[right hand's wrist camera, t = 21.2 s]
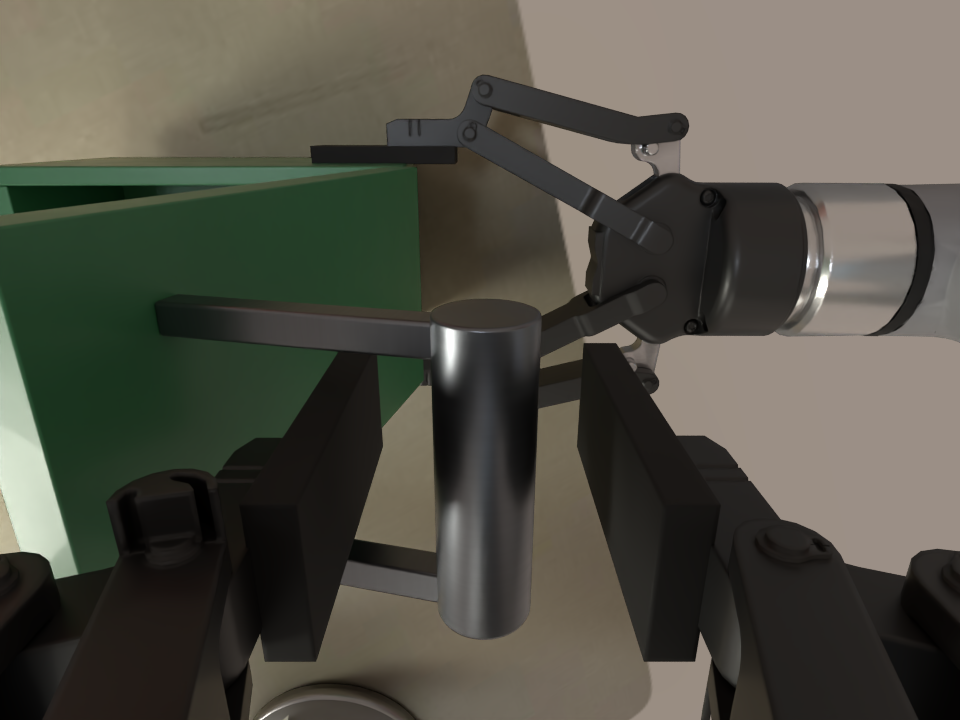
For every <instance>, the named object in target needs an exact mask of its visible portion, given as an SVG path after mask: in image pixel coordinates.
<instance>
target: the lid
mask: <svg viewBox="0 0 960 720" xmlns="http://www.w3.org/2000/svg"><path fill="white" fill-rule="evenodd" d="M541 323H542V317H541V314H540V312H539V311H538V310H537V309H536V308H534V307H532V306H529V305H526V304H523V303H520V302H515V301H509V300H500V299H470V300H461V301H455V302H450V303H447V304H444V305H441V306H439V307H437V308H435V309H434V310H433V311H432V312H422V309H421V278H420V248H419V217H418V186H417V167H383V168H375V169H367V170H359V171H351V172H343V173H335V174H327V175H319V176H311V177H303V178H295V179H287V180H279V181H271V182H263V183H255V184H247V185H239V186H231V187H223V188H215V189H207V190H199V191H191V192H183V193H175V194H167V195H159V196H151V197H143V198H135V199H127V200H119V201H111V202H103V203H95V204H87V205H79V206H71V207H63V208H55V209H47V210H39V211H31V212H23V213H16V214H8V215H0V489H1V492H2V495H3V499H4V502H5V505H6V508H7V511H8V514H9V517H10V520H11V524H12V527H13V530H14V533H15V536H16V539H17V542H18V545H19V548H20V552H30V553H37V554H41V555H42V556H43V557H45V558H46V559H47V560H49V562H50V565H51V568H52V572H53V575H54V578H55V579H58V578H63V577H68V576H73V575H78V574H82V573H87V572H92V571H97V570H102V569H106V568H110V567H113V566H115V564H116V562H117V560H118V558H119V552H118V548H117V544H116V540H115V537H114V533H113V529H112V525H111V521H110V517H109V513H108V509H107V505H106V501H107V500H108V499H109V498H110V497H111V496H112V495H113V494H114V492H115V491H117V490H118V489H120V488H121V487H123V486H125V485H126V484H128V483H130V482H131V481H133V480H136V479H139V478H141V477H144V476H147V475H149V474H152V473H156V472H161V471H166V470H171V469H191V468H193V469H198V470H202V471H207V472H209V473H210V474H211V475H213V476H214V477H215V476H216V474H217V473H218V472H219V471H220V470H222V467H223V465H224V464H225V463H226V462H227V460H228V459H229V458H230V456H231V455H232V454H233V452H234V451H236V450H237V449H239V448H240V447H242V446H243V445H245V444H247V443H248V442H250V441H251V440H253V439H255V438H283V436H284V435H285V433H286V432H287V430H288V429H289V427H290V426H291V424H292V423H293V421H294V419H295V418H296V416H297V415H298V413H299V412H300V410H301V409H302V407H303V406H304V404H305V403H306V401H307V399H308V398H309V396H310V395H311V393H312V392H313V390H314V389H315V387H316V386H317V384H318V382H319V381H320V379H321V378H322V376H323V375H324V373H325V372H326V370H327V369H328V367H329V366H330V364H331V362H332V361H333V359H334V358H335V356H336V355H337V353H338V352H347V353H358V354H369V355H377V362H378V378H379V393H380V409H381V424H382V427H383V426H384V425H385V424H386V423H387V421H388V420H389V419H390V418H391V417H392V416H393V415H394V414H395V412H396V411H397V410H398V409H399V408H400V407H401V406H402V404H403V403H404V402H405V401H406V400H407V399H408V398H409V396H410V395H411V394H412V393H413V392H414V391H415V390H416V388H417V387H418V386H419V385H420V384H421V383H422V382H423V381H424V370H423V359H424V360H431V378H432V413H433V449H434V485H435V521H436V553H435V552H429V551H423V550H417V549H411V548H405V547H399V546H393V545H386V544H380V543H374V542H368V541H362V540H356V539H354V541H353V544H352V547H351V551H350V554H349V557H348V560H347V563H346V567H345V570H344V573H343V576H342V580H341V583H340V584H341V585H346V586H352V587H357V588H363V589H368V590H373V591H379V592H384V593H390V594H395V595H401V596H406V597H411V598H417V599H422V600H428V601H433V602H438V610H439V614H440V616H441V618H442V619H443V621H444V622H445V624H446V625H447V626H448V627H449V628H450V629H452V630H453V631H455V632H456V633H458V634H460V635H462V636H465V637H468V638H472V639H480V640H488V639H496V638H500V637H504V636H506V635H509V634H511V633H512V632H514V631H515V630H517V629H518V628H519V627H520V626H521V625H522V624H523V623H524V621H525V620H526V618H527V616H528V614H529V611H530V600H531V575H532V550H533V524H534V499H535V474H536V449H537V424H538V399H539V374H540V349H541Z"/></svg>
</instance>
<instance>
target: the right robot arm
mask: <svg viewBox="0 0 960 720" xmlns="http://www.w3.org/2000/svg"><path fill="white" fill-rule="evenodd" d="M382 448H383V440H382V424H381V409H380V393H379V378H378V362H377V355H369V354H358V353H347V352H338V353H337V355H336V356H335V358H334V359H333V361H332V362H331V364H330V366H329V367H328V369H327V370H326V372H325V373H324V375H323V376H322V378H321V379H320V381H319V382H318V384H317V386H316V387H315V389H314V390H313V392H312V393H311V395H310V396H309V398H308V399H307V401H306V403H305V404H304V406H303V407H302V409H301V410H300V412H299V413H298V415H297V416H296V418H295V419H294V421H293V423H292V424H291V426H290V427H289V429H288V430H287V432H286V433H285V435H284V436H283V438H255V439H253V440H251V441H250V442H248V443H247V444H245V445H243V446H242V447H240V448H239V449H237V450H236V451H234V452H233V454H232V455H231V456H230V458H229V459H228V460H227V462H226V463H225V464H224V465H223V467H222V470H220V471H219V472H218V473H217V474H216V476H215V477H214V476H213V475H211V474H210V473H209V472H207V471H202V470H198V469H193V468H191V469H171V470H166V471H161V472H156V473H152V474H149V475H147V476H144V477H141V478H139V479H136V480H133V481H131V482H130V483H128V484H126V485H125V486H123V487H121V488H120V489H118V490H117V491H115V492H114V494H113V495H112V496H111V497H110V498H109V499H108V500H107V501H106V505H107V509H108V513H109V517H110V521H111V525H112V529H113V533H114V537H115V540H116V544H117V548H118V552H119V558H118V560H117V562H116V564H115V566H113V567H110V568H106V569H102V570H97V571H92V572H87V573H82V574H78V575H73V576H68V577H63V578H58V579H55V578H54V575H53V572H52V568H51V565H50V562H49V560H47V559H46V558H45V557H43V556H42V555H41V554H37V553H30V552H16V553H7V554H0V720H249V711H250V703H251V694H252V686H253V684H252V677H251V671H250V665H249V657H250V655H251V653H252V651H253V648H254V646H255V644H256V642H257V639H258V637H259V635H261V641H262V647H263V653H264V659H265V662H316V660H317V657H318V654H319V650H320V647H321V644H322V641H323V638H324V634H325V631H326V628H327V625H328V621H329V618H330V615H331V612H332V609H333V605H334V602H335V599H336V596H337V592H338V589H339V586H340V583H341V580H342V576H343V573H344V570H345V567H346V563H347V560H348V557H349V554H350V551H351V547H352V544H353V541H354V538H355V535H356V531H357V528H358V525H359V522H360V518H361V515H362V512H363V509H364V506H365V502H366V499H367V496H368V493H369V489H370V486H371V483H372V480H373V477H374V473H375V470H376V467H377V464H378V460H379V457H380V454H381V451H382ZM577 448H578V451H579V454H580V457H581V460H582V464H583V467H584V470H585V473H586V477H587V480H588V483H589V486H590V489H591V493H592V496H593V499H594V502H595V506H596V509H597V512H598V515H599V518H600V522H601V525H602V528H603V531H604V535H605V538H606V541H607V544H608V547H609V551H610V554H611V557H612V560H613V563H614V567H615V570H616V573H617V576H618V580H619V583H620V586H621V589H622V592H623V596H624V599H625V602H626V605H627V609H628V612H629V615H630V618H631V621H632V625H633V628H634V631H635V634H636V638H637V641H638V644H639V647H640V650H641V654H642V657H643V660H644V662H695V659H696V653H697V647H698V641H699V635H700V632H701V634H702V636H703V638H704V641H705V643H706V645H707V647H708V650H709V652H710V654H711V657H712V659H711V665H710V671H709V676H708V682H707V688H706V693H705V699H704V705H703V710H702V717H701V720H710V716H711V718H712V720H960V551H951V550H943V549H933V550H926V551H920V552H919V553H918V554H917V555H915V556H914V557H913V558H912V559H911V562H910V565H909V568H908V572H907V575H906V576H901V575H896V574H891V573H886V572H881V571H876V570H871V569H866V568H861V567H857V566H853V565H849V564H846V563H844V561H843V559H842V557H841V555H840V553H839V552H838V551H837V550H836V548H835V547H834V546H833V544H832V543H831V542H829V541H828V540H827V539H825V538H824V537H822V536H821V535H820V534H818V533H817V532H815V531H813V530H811V529H808V528H806V527H804V526H801V525H799V524H797V523H793V522H789V521H785V520H781V519H780V518H779V517H778V515H777V514H776V513H775V512H774V510H773V509H772V508H771V507H770V505H769V504H768V503H767V501H766V500H765V499H764V497H763V496H762V495H761V494H760V492H759V491H758V490H757V489H756V487H755V486H754V485H753V483H752V482H751V481H748V477H747V476H746V474H745V473H744V472H743V471H742V469H741V468H738V464H737V463H736V462H735V460H734V459H733V458H732V457H731V455H730V454H729V453H728V451H727V450H726V449H725V448H723V447H722V446H720V445H718V444H717V443H715V442H714V441H712V440H710V439H709V438H707V437H706V436H676V435H675V433H674V432H673V430H672V429H671V427H670V426H669V424H668V423H667V421H666V419H665V418H664V416H663V415H662V413H661V412H660V410H659V409H658V407H657V406H656V404H655V403H654V401H653V399H652V398H651V396H650V395H649V393H648V392H647V390H646V389H645V387H644V386H643V384H642V382H641V381H640V379H639V378H638V376H637V375H636V373H635V372H634V370H633V369H632V367H631V366H630V364H629V362H628V361H627V359H626V358H625V356H624V355H623V353H622V352H621V350H620V349H619V347H618V346H617V344H616V343H584V346H583V362H582V377H581V393H580V409H579V424H578V440H577Z"/></svg>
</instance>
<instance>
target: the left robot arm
mask: <svg viewBox="0 0 960 720" xmlns="http://www.w3.org/2000/svg"><path fill="white" fill-rule="evenodd" d="M492 109H493V110H496V111H500V112H503V113H507V114H511V115H514V116H518V117H522V118H525V119H529V120H533V121H536V122H540V123H544V124H547V125H551V126H554V127H558V128H562V129H566V130H569V131H573V132H576V133H580V134H584V135H587V136H591V137H595V138H598V139H602V140H605V141H609V142H615V143H621V144H631V151H632V154H633V156H634V157H635V158H636V159H637V160H640V161H645V162H647V163H649V164H650V165H651V166H652V168H653V171H654V175H652V176H651V177H649V178H648V179H647V180H645V181H644V182H642V183H641V184H640V185H638V186H637V187H635V188H634V189H632V190H631V191H630V192H628V193H627V194H625V195H624V196H622V197H621V198H620V199H618V200H617V201H616V200H614V199H613V198H611V197H609V196H607V195H606V194H604V193H602V192H600V191H598V190H597V189H595V188H593V187H591V186H590V185H588V184H586V183H584V182H582V181H581V180H579V179H577V178H575V177H574V176H572V175H570V174H568V173H567V172H565V171H563V170H561V169H560V168H558V167H556V166H554V165H553V164H551V163H549V162H547V161H546V160H544V159H542V158H540V157H539V156H537V155H535V154H533V153H532V152H530V151H528V150H526V149H525V148H523V147H521V146H519V145H518V144H516V143H514V142H512V141H511V140H509V139H507V138H505V137H504V136H502V135H500V134H498V133H497V132H495V131H493V130H491V129H489V128H488V127H486V126H487V124H488V121H489V118H490V115H491V112H492ZM386 128H387V145H320V146H310V148H311V159H312V163H405V164H456V163H457V147H466V148H468V149H470V150H471V151H473V152H475V153H477V154H479V155H480V156H482V157H484V158H486V159H488V160H489V161H491V162H493V163H495V164H496V165H498V166H500V167H502V168H504V169H505V170H507V171H509V172H511V173H513V174H514V175H516V176H518V177H520V178H521V179H523V180H525V181H527V182H529V183H530V184H532V185H534V186H536V187H538V188H539V189H541V190H543V191H545V192H546V193H548V194H550V195H552V196H554V197H555V198H557V199H559V200H561V201H563V202H564V203H566V204H568V205H570V206H572V207H573V208H575V209H577V210H579V211H580V212H582V213H584V214H585V215H587V216H589V217H590V218H592V219H594V222H593V224H592V226H589V234H588V243H589V248H590V253H591V259H590V262H589V265H588V268H587V271H586V281H585V286H586V288H587V289H588V291H586V292H583V293H581V294H579V295H577V296H576V297H574V298H572V299H571V300H570V301H569V302H568V303H567V304H565V305H563V306H561V307H559V308H557V309H555V310H553V311H551V312H549V313H547V314H545V315H543V316H541V317H542V323H541V349H540V357H542V356H544V355H546V354H548V353H551V352H553V351H555V350H557V349H559V348H561V347H563V346H565V345H567V344H569V343H571V342H573V341H575V340H577V339H579V338H582V337H585V336H593V335H596V334H598V333H600V332H602V331H604V330H606V329H608V328H610V327H612V326H615V325H617V324H620V325H622V326H623V327H624V328H626V329H627V330H628V331H630V332H631V333H632V334H634V335H635V336H636V337H637V340H636V341H635V342H634V343H633V344H632V345H630V346H625V347H621V348H619V349H620V350H621V352H622V353H623V355H624V356H625V358H626V359H627V361H628V362H629V364H630V366H631V367H632V369H633V370H634V372H635V373H636V375H637V376H638V378H639V379H640V381H641V382H642V384H643V386H644V387H645V389H646V390H647V392H648V393H649V394H652V393H654V392H655V391H656V390H657V389H658V387H659V380H658V378H657V376H656V375H655V373H654V370H655V365H656V361H657V356H658V352H659V348H660V344H662V343H665V342H667V341H669V340H671V339H673V338H675V337H678V336H682V335H699V336H765V335H769V334H771V333H773V332H774V331H775V332H776V333H778V334H779V335H783V336H844V335H863V336H929V337H940V338H946V339H951V340H954V341H957V342H959V343H960V184H924V185H897V184H884V183H795V184H793V185H791V186H789V187H787V188H786V187H785V186H783V185H782V184H779V183H701V182H694V181H692V180H690V179H688V178H687V177H685V176H684V175H682V174H680V140H681V139H682V138H683V137H685V135H686V134H687V132H688V129H689V123H688V119H687V118H686V116H684V115H683V114H681V113H669V114H660V115H650V116H641V117H637V116H633V115H629V114H626V113H622V112H619V111H615V110H611V109H608V108H604V107H601V106H597V105H593V104H590V103H586V102H583V101H579V100H576V99H572V98H568V97H565V96H561V95H558V94H554V93H551V92H547V91H543V90H540V89H536V88H533V87H529V86H526V85H522V84H518V83H515V82H511V81H508V80H504V79H500V78H497V77H493V76H490V75H481V76H478V77H477V78H476V79H475V80H474V81H473V83H472V85H471V90H470V93H469V96H468V99H467V102H466V105H465V107H464V110H463V111H462V113H461V114H460V115H459V116H457V117H455V118H453V119H396V120H394V121H391V122H389V123H387V124H386ZM582 362H583V359H581V360H577V361H572V362H568V363H564V364H559V365H555V366H551V367H546V368H542V369H540V374H539V399H538V408H543V407H547V406H552V405H556V404H561V403H565V402H570V401H574V400H579V399H580V393H581V377H582ZM423 370H424V381H423V382H422V383H421V384H420V385H421V386H427V385H428V386H432V378H431V360H424V359H423ZM254 720H415V719H414V718H413V717H412V716H411V715H410V714H409V713H408V712H407V711H406V710H405V709H404V708H403V707H401V706H400V705H399V704H397V703H396V702H394V701H393V700H391V699H389V698H387V697H385V696H383V695H381V694H379V693H376V692H374V691H371V690H368V689H364V688H360V687H356V686H351V685H343V684H316V685H309V686H304V687H300V688H296V689H293V690H291V691H288V692H286V693H283V694H281V695H279V696H278V697H276V698H274V699H273V700H271V701H270V702H269V703H267V704H266V705H265V706H264V707H263V708H262V709H261V710H260V711H259V712H258V714H257V715H256V717H255V718H254Z"/></svg>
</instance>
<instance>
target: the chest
mask: <svg viewBox="0 0 960 720" xmlns="http://www.w3.org/2000/svg"><path fill="white" fill-rule="evenodd" d="M383 167H414V164H405V163H312V159H311V158H211V157H110V158H96V159H81V160H67V161H52V162H38V163H23V164H9V165H0V215H8V214H16V213H23V212H31V211H39V210H47V209H55V208H63V207H71V206H79V205H87V204H95V203H103V202H111V201H119V200H127V199H135V198H143V197H151V196H159V195H167V194H175V193H183V192H191V191H199V190H207V189H215V188H223V187H231V186H239V185H247V184H255V183H263V182H271V181H279V180H287V179H295V178H303V177H311V176H319V175H327V174H335V173H343V172H351V171H359V170H367V169H375V168H383Z"/></svg>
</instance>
